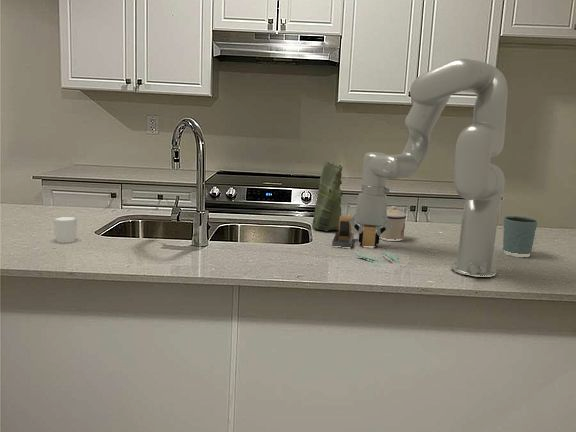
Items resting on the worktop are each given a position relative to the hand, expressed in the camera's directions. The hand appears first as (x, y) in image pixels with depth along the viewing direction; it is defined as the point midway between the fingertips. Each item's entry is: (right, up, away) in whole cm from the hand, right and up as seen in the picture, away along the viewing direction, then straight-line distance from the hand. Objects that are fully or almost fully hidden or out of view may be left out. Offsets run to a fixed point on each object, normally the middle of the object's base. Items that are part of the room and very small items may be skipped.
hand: (368, 244), depth 186 cm
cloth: (+2, -5, -15) cm, 16 cm away
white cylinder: (-95, +2, -12) cm, 96 cm away
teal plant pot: (+49, -3, 0) cm, 49 cm away
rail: (-8, 0, +3) cm, 9 cm away
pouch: (-12, +4, +21) cm, 25 cm away
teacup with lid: (+10, +2, +13) cm, 17 cm away
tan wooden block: (0, -1, 0) cm, 0 cm away
